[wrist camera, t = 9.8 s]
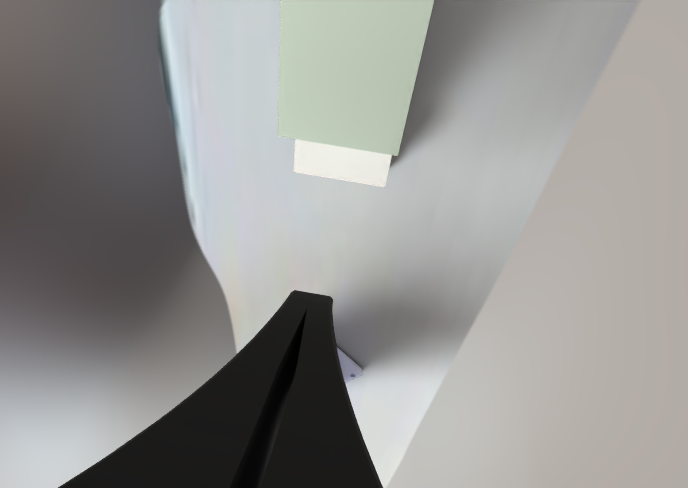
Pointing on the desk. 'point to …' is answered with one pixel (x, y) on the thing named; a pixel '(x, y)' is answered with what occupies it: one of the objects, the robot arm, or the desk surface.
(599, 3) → the desk surface
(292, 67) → the sage module
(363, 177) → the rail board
